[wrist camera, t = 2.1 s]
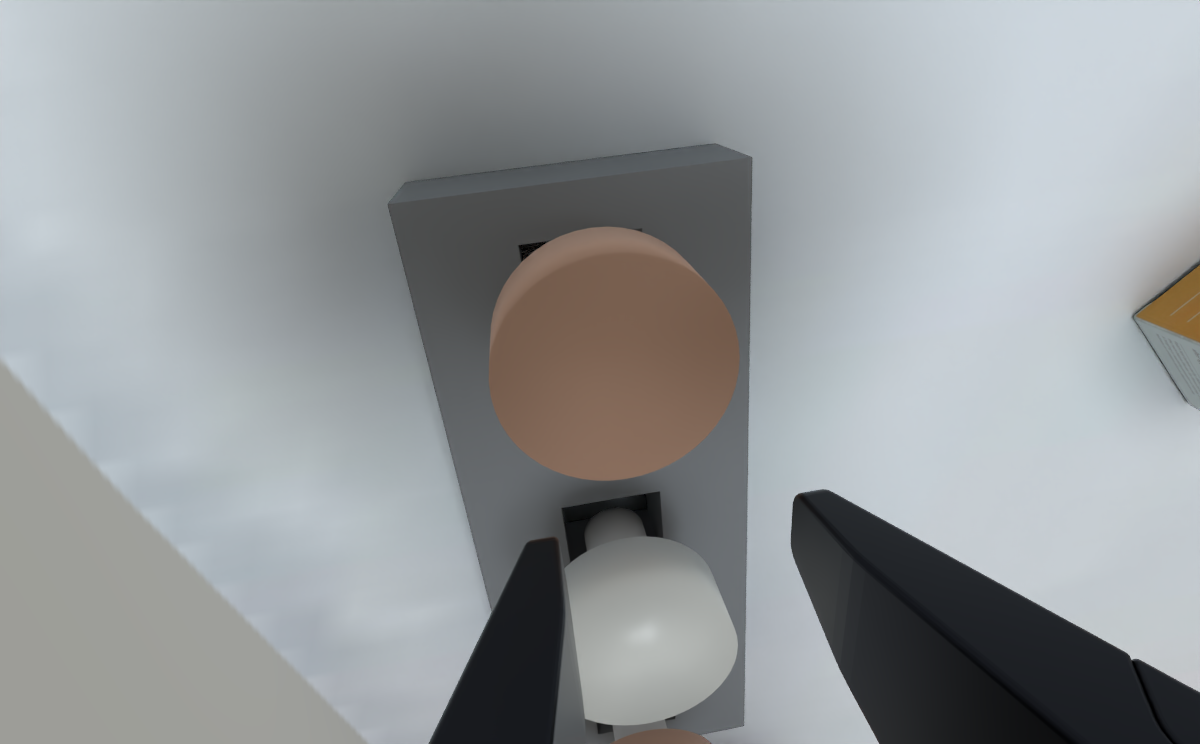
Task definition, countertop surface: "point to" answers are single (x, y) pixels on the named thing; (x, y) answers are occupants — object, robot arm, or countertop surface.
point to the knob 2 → (654, 734)
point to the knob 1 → (609, 355)
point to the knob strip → (462, 348)
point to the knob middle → (645, 623)
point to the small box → (1177, 333)
